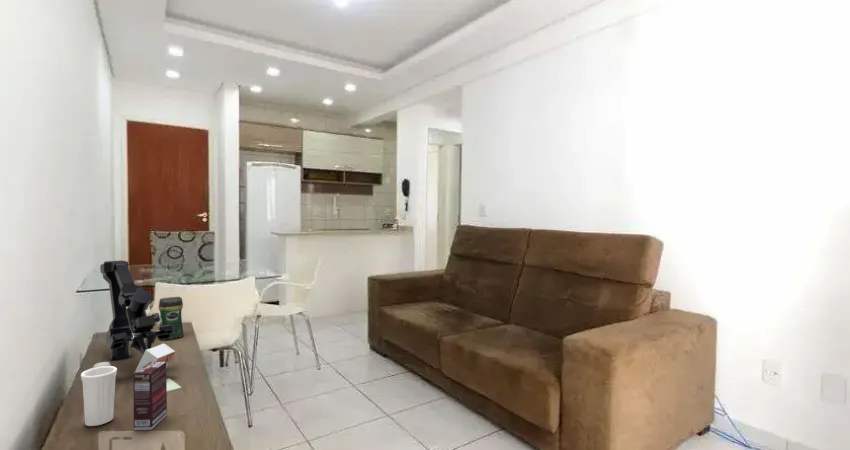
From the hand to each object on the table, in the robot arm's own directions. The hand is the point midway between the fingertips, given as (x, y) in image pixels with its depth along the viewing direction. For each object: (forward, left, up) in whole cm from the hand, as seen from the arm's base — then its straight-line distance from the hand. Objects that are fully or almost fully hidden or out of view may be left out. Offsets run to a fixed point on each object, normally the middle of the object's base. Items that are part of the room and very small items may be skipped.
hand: (148, 356), depth 148 cm
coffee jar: (-49, +14, -8) cm, 52 cm away
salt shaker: (+15, -14, -8) cm, 22 cm away
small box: (0, 0, -7) cm, 7 cm away
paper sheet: (+10, +2, -8) cm, 13 cm away
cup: (+26, -15, -8) cm, 31 cm away
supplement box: (+35, -4, -8) cm, 36 cm away
